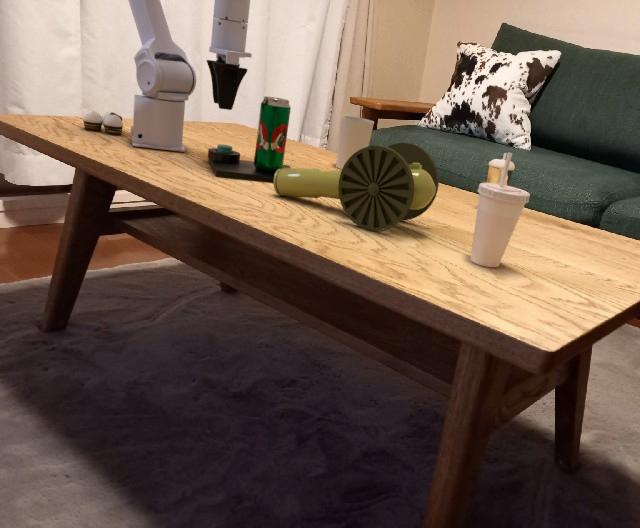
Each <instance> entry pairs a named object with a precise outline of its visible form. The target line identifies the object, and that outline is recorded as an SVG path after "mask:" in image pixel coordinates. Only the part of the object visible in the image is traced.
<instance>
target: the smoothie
mask: <svg viewBox="0 0 640 528" xmlns="http://www.w3.org/2000/svg"><path fill="white" fill-rule="evenodd" d="M512 157H513V152H507V155H506V159H505V160H506V162H505V165H504V169H503V173H502V176H501V180H500V184H495V183H486V182H480V183H479V185H478V189H477V193H478V194H479V195H478V201H477V208H476V215H475V222H474V223H475V224H474V229H473V231H474V232H473V238H472V245H471V252H470V254H471V255H470V261H471V262H472V263H474V264H476V265H479V266H483V267H488V268H498V267H499V266H500V264H501V261H502V259H503V256H504V255H505V253H506V251H507V248H508V246H509V243H510V241H511V239H512V236H513V234H514V231H515V229H516V227H517V224H518V222H519V220H520V217H521V215H522V212H523V210H524V208H525V205H526V204H528V203H529V202H530V197H531V194H530V192H528V191H526V190H524V189H521V188H518V187H515V186H510V185H508V186H507V185H504V183H505V179H506V176H507V172H508V168H509V165H510V161H511V162H512Z"/></svg>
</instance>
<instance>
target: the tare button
mask: <svg viewBox="0 0 640 528" xmlns="http://www.w3.org/2000/svg"><path fill="white" fill-rule="evenodd" d="M216 148H217V152H221V153H228V154H232V150H233V146H232V145H230V144H229V145H228V144H223V143H222V144H217V147H216Z"/></svg>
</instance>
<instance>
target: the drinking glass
mask: <svg viewBox="0 0 640 528" xmlns="http://www.w3.org/2000/svg"><path fill="white" fill-rule="evenodd" d="M374 124H375V121H373V120H371V119H367V118H362V117H357V116H349V115H342V116H341V119H340V127H339V136H338V145H337V150H336V151H337V153H336V161H335V167H336V168H338V169H340V170H342V169H343V167H344V165H345V163H346V162H347V160H348V159H349V158H350V157H351V156H352V155H353V154H354V153H355V152H357V151H359V150H360V149H363V148H365V147H369V146H370V142H371V138H372V132H373V129H374Z"/></svg>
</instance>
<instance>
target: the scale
mask: <svg viewBox="0 0 640 528" xmlns="http://www.w3.org/2000/svg"><path fill="white" fill-rule="evenodd" d="M207 163H208V165H209V166H210V168H211V170H212V172H213V173H214V175H215V177H217V178H227V179H236V180H245V181H246V180H247V181H254V182H255V181H256V182H267V183H273V182H274V175H275V173H270V172H264V171H260V170H257V169H256V168H255V166H254V160H246V159H245V160H244V159H241V153H240V152H239V151H236V150H233V149H232V154H228V153H221V152H217V147H211V148H208V150H207ZM283 168H292V167H291V166H290V165H288V164H283Z"/></svg>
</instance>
